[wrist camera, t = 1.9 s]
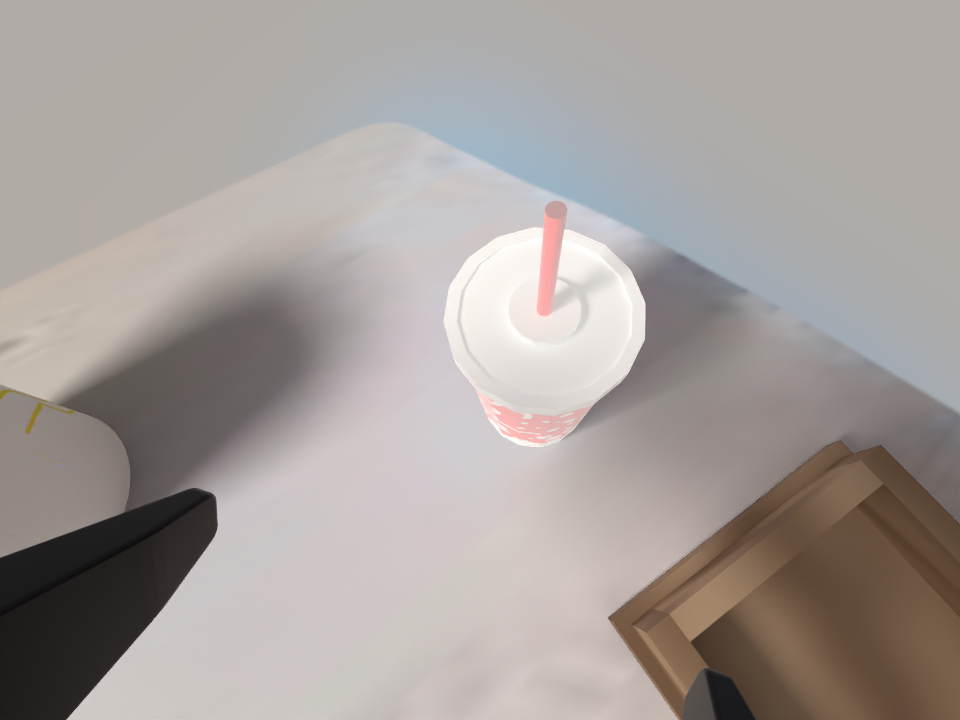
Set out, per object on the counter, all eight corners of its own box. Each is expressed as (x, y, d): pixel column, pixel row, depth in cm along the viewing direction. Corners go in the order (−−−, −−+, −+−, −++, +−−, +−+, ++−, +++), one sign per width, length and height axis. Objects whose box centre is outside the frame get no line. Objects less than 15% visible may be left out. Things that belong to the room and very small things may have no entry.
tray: (845, 959, 17) (923, 1052, 14) (607, 617, 21) (624, 627, 18) (1087, 718, 19) (1206, 751, 16) (827, 445, 23) (879, 426, 20)
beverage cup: (445, 372, 25) (371, 167, 12) (558, 316, 26) (603, 65, 13) (506, 489, 23) (495, 394, 10) (627, 425, 24) (765, 258, 11)
